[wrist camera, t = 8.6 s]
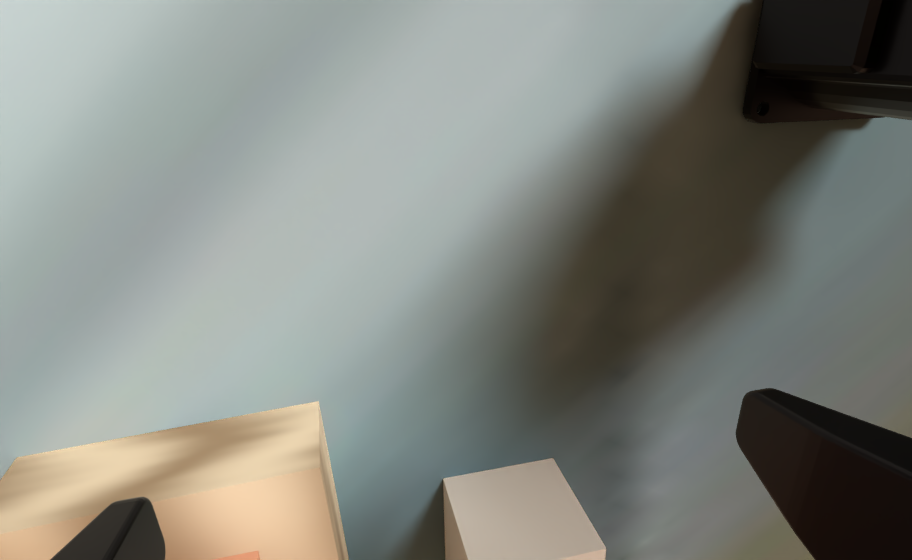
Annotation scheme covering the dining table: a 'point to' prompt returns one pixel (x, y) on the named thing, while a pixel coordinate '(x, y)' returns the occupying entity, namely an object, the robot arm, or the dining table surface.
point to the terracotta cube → (243, 556)
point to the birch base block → (188, 489)
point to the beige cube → (517, 516)
